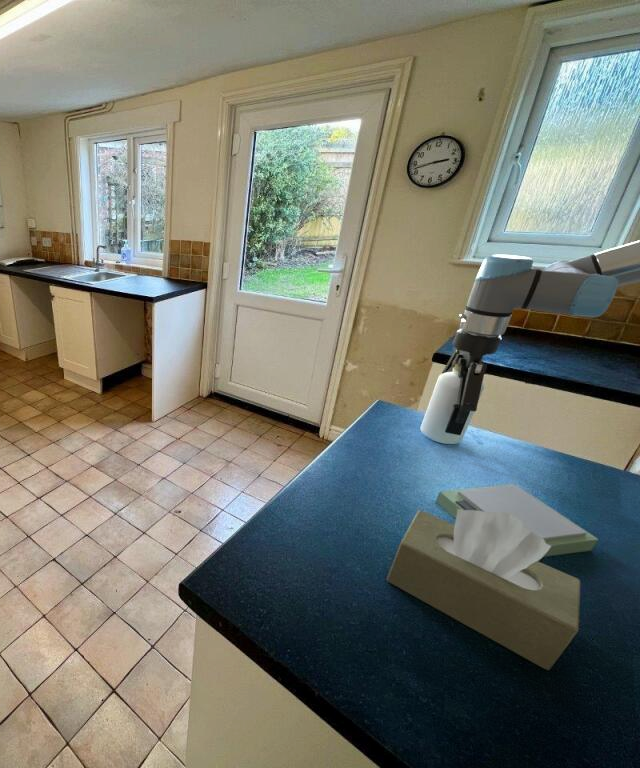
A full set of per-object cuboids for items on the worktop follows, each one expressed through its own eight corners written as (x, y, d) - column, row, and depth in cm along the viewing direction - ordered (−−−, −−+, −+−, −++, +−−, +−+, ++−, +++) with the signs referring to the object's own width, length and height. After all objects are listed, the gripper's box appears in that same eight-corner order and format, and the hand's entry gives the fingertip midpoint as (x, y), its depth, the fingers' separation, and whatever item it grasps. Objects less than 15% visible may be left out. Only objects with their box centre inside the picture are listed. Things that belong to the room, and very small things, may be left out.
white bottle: (424, 423, 104) (448, 356, 96) (465, 436, 98) (494, 367, 90) (414, 435, 99) (438, 366, 91) (456, 450, 93) (486, 378, 85)
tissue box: (556, 621, 57) (614, 536, 50) (551, 674, 51) (617, 585, 44) (402, 544, 69) (432, 468, 62) (383, 580, 63) (414, 499, 56)
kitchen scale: (509, 493, 80) (515, 480, 79) (591, 550, 68) (600, 536, 66) (435, 501, 78) (440, 488, 77) (505, 561, 66) (513, 547, 64)
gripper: (446, 314, 99) (419, 393, 108) (473, 348, 78) (436, 442, 88) (485, 318, 96) (454, 399, 105) (523, 354, 76) (480, 451, 85)
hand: (446, 419), depth 96 cm, fingers open, 13 cm apart
